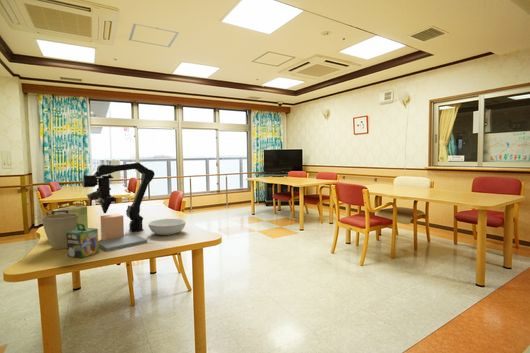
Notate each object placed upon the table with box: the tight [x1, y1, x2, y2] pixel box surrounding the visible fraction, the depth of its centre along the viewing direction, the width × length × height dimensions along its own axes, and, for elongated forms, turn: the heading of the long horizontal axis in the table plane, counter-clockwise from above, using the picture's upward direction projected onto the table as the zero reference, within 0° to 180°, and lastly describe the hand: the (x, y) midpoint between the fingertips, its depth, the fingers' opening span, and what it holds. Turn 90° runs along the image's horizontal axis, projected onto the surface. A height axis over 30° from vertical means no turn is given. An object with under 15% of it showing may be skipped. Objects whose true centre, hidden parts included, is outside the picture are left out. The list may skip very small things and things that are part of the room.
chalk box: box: [66, 223, 100, 259], centre depth 132 cm, size 9×9×15 cm
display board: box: [98, 233, 148, 252], centre depth 150 cm, size 20×16×2 cm
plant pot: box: [41, 213, 78, 250], centre depth 143 cm, size 15×15×16 cm
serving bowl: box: [148, 218, 186, 236], centre depth 171 cm, size 21×21×7 cm
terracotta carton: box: [100, 213, 125, 241], centre depth 158 cm, size 9×8×13 cm
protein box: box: [51, 205, 89, 229], centre depth 168 cm, size 10×15×16 cm
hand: (104, 213), depth 165 cm, fingers closed
